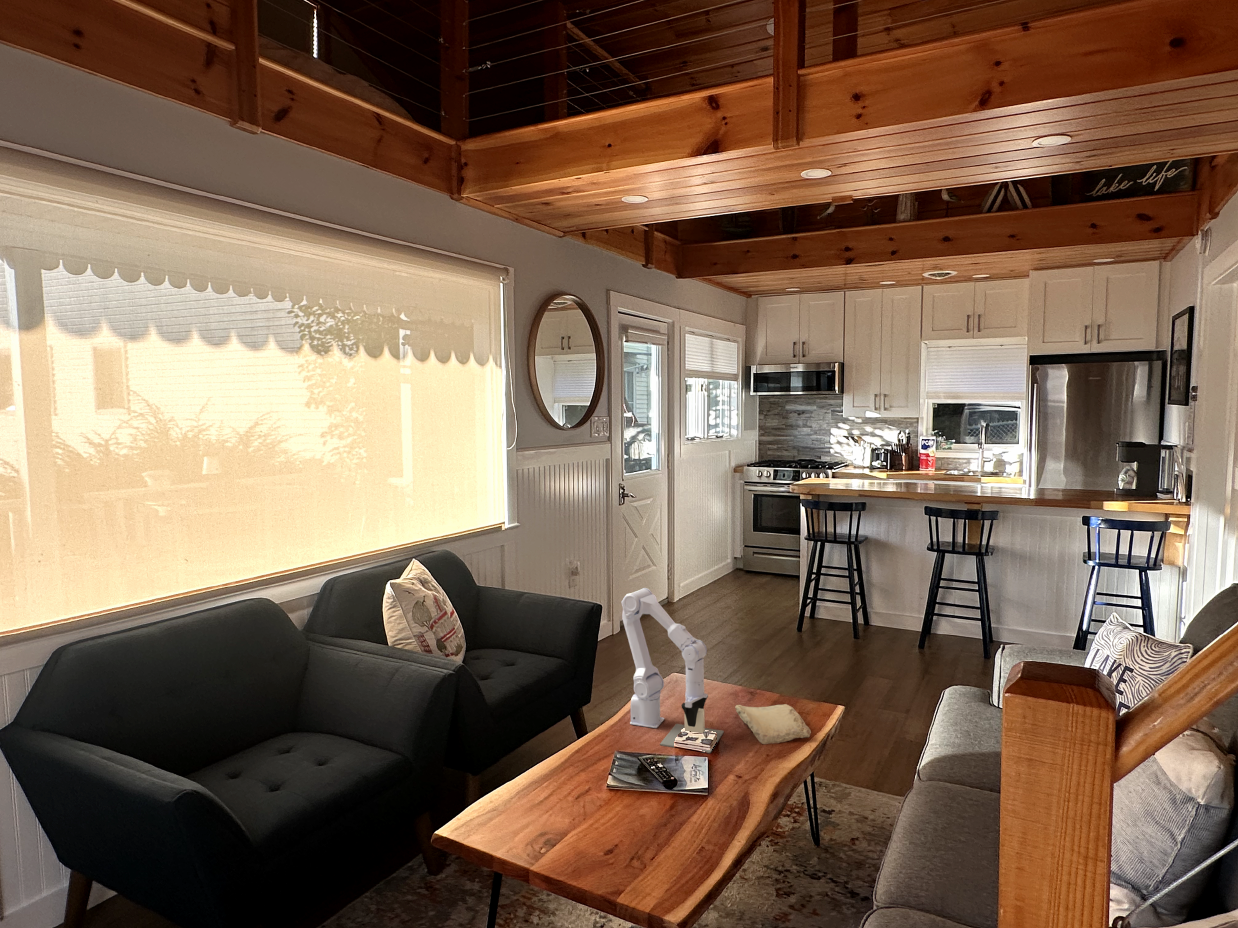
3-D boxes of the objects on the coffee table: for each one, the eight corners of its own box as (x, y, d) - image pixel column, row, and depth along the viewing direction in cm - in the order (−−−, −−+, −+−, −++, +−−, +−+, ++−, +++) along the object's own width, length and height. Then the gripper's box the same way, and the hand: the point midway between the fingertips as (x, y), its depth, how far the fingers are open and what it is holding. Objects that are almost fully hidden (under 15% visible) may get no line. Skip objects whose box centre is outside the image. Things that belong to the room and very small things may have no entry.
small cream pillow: (750, 748, 241) (813, 739, 243) (748, 725, 241) (811, 715, 242) (732, 719, 265) (789, 711, 267) (729, 698, 265) (787, 689, 266)
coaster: (684, 733, 249) (684, 708, 249) (686, 730, 251) (686, 706, 251) (702, 735, 247) (702, 711, 246) (704, 733, 249) (704, 708, 248)
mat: (660, 745, 242) (660, 743, 242) (676, 724, 257) (676, 723, 257) (710, 753, 236) (710, 751, 236) (723, 732, 251) (723, 730, 251)
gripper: (700, 689, 239) (700, 732, 241) (713, 673, 253) (713, 714, 254) (678, 686, 242) (678, 728, 243) (692, 671, 255) (692, 711, 257)
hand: (695, 721), depth 249 cm, fingers open, 7 cm apart
